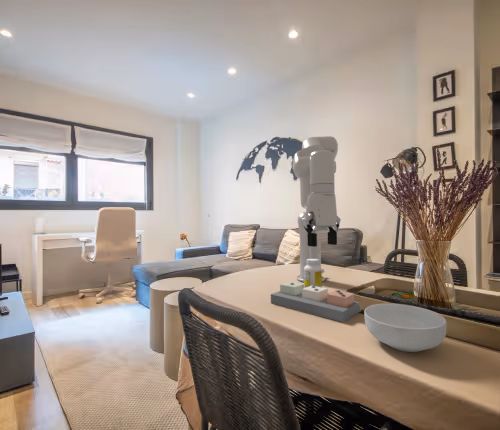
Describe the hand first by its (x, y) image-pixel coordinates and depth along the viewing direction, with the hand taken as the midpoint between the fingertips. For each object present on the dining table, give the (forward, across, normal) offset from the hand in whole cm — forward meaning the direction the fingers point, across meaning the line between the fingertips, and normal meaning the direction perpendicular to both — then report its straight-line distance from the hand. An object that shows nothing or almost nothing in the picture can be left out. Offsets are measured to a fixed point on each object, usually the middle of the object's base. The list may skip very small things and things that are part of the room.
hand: (322, 245), depth 88 cm
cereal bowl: (+21, +3, +25) cm, 33 cm away
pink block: (+19, -3, +4) cm, 20 cm away
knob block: (+19, 0, -14) cm, 23 cm away
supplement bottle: (+20, -14, -16) cm, 30 cm away
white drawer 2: (+19, -2, -5) cm, 19 cm away
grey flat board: (+20, -2, -5) cm, 21 cm away
